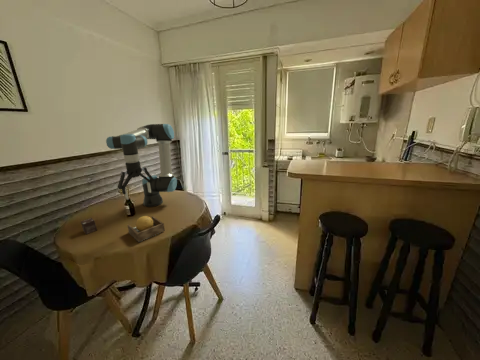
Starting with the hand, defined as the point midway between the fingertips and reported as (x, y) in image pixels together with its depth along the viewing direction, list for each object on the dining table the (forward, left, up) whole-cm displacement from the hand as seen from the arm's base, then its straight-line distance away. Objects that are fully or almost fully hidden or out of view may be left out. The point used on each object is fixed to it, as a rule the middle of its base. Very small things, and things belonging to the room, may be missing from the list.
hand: (139, 195), depth 123 cm
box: (+25, -25, -24) cm, 42 cm away
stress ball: (+1, +4, -23) cm, 23 cm away
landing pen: (+1, +4, -23) cm, 24 cm away
